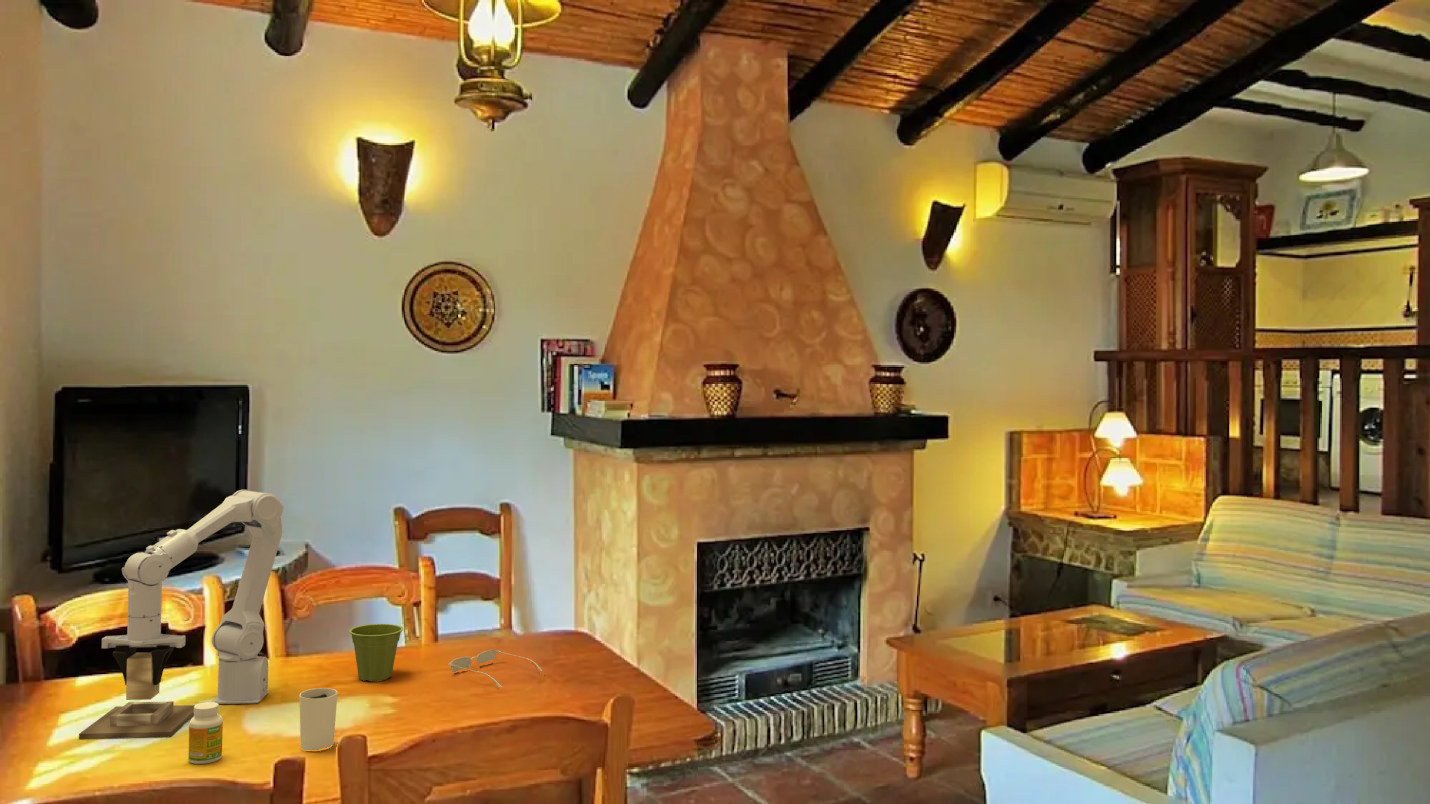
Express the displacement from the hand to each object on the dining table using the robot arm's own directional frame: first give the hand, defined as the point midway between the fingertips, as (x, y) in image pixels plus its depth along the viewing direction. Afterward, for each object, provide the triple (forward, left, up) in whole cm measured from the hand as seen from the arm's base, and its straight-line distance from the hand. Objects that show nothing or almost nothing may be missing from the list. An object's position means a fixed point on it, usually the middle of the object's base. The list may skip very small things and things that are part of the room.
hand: (143, 684), depth 198 cm
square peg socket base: (0, 0, -8) cm, 8 cm away
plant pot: (-39, -29, -8) cm, 49 cm away
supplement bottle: (-18, +20, -8) cm, 28 cm away
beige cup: (-36, +15, -8) cm, 40 cm away
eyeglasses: (-67, -29, -9) cm, 73 cm away
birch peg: (0, 0, -2) cm, 3 cm away
